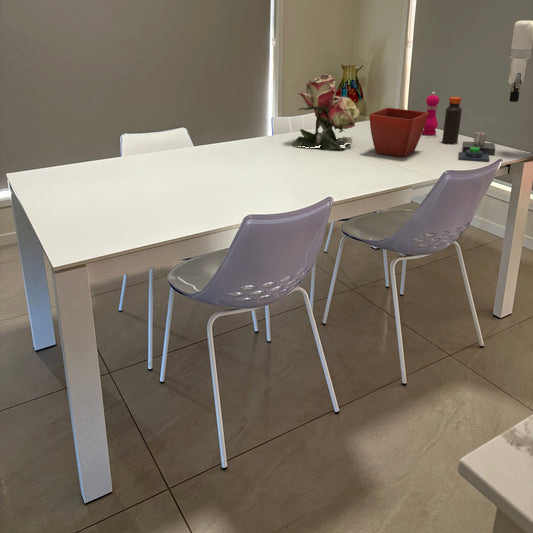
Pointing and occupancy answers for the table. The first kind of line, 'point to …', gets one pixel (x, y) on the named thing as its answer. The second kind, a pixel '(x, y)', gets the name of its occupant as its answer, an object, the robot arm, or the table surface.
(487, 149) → the dial panel
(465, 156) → the housing
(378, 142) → the flower pot
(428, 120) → the pepper mill
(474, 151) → the start button
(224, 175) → the table surface
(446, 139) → the bottle
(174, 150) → the table surface
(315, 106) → the rose bouquet
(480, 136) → the program dial
